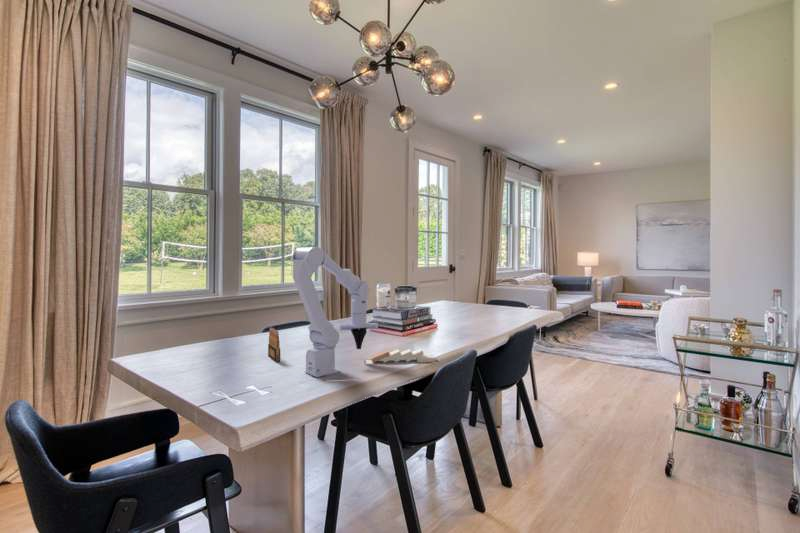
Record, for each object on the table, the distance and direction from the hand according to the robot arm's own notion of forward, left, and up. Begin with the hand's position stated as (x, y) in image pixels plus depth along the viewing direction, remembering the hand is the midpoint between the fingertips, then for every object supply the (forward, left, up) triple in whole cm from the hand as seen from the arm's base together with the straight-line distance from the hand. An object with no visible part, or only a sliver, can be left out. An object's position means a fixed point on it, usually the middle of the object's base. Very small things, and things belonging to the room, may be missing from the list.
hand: (358, 348), depth 153 cm
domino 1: (+7, -5, -4) cm, 10 cm away
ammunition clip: (-21, +27, -6) cm, 34 cm away
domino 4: (+18, -13, -4) cm, 22 cm away
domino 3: (+15, -10, -4) cm, 18 cm away
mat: (+10, -7, -6) cm, 14 cm away
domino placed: (+4, -3, -4) cm, 7 cm away
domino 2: (+11, -8, -4) cm, 14 cm away
